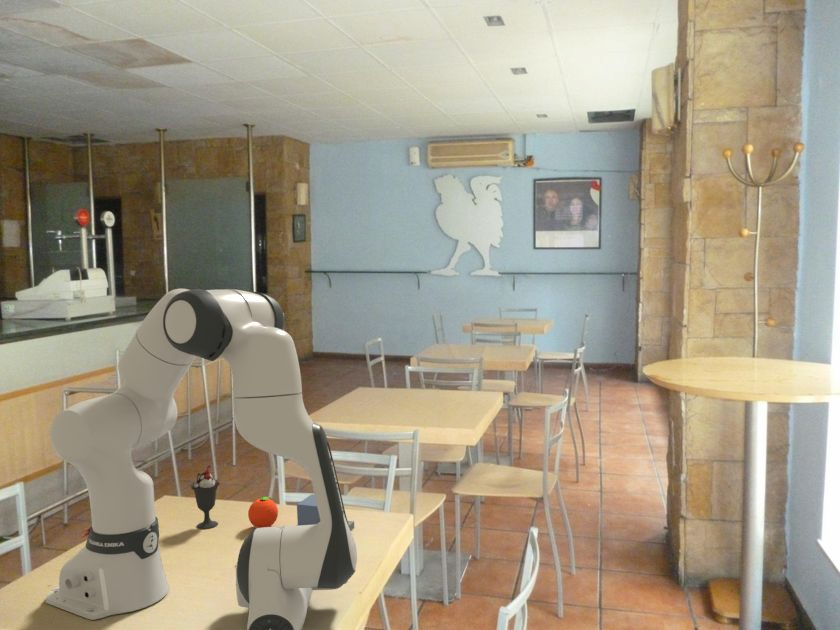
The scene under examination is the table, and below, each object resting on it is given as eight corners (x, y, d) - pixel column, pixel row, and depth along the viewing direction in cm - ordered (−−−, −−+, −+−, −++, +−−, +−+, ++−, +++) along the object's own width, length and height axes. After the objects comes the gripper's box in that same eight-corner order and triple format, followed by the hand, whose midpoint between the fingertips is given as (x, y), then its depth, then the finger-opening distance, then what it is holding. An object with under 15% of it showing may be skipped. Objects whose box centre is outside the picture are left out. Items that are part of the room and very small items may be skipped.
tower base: (282, 541, 159) (281, 507, 158) (308, 522, 170) (307, 490, 170) (331, 547, 155) (329, 512, 154) (354, 527, 166) (353, 494, 166)
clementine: (260, 519, 173) (258, 491, 173) (285, 521, 172) (284, 492, 171) (243, 531, 166) (241, 502, 165) (270, 534, 164) (268, 504, 163)
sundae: (217, 530, 167) (214, 467, 166) (189, 530, 167) (185, 468, 166) (225, 519, 174) (222, 459, 173) (198, 520, 174) (194, 460, 173)
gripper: (346, 567, 123) (351, 536, 137) (227, 571, 122) (244, 539, 136) (347, 602, 123) (352, 567, 137) (229, 606, 123) (245, 571, 136)
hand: (297, 553), depth 137 cm, fingers closed on terracotta brick, 7 cm apart
